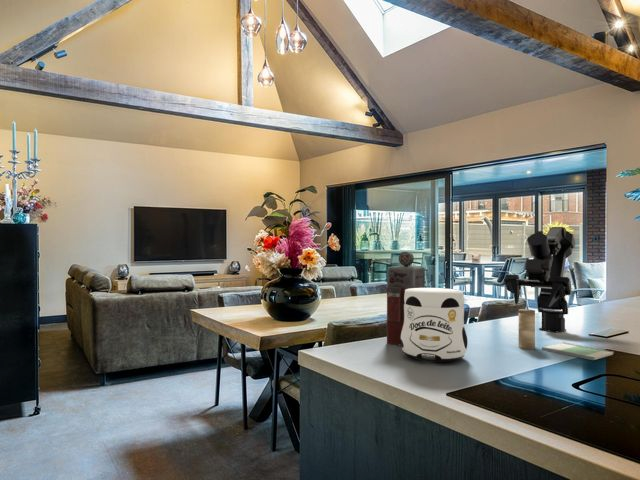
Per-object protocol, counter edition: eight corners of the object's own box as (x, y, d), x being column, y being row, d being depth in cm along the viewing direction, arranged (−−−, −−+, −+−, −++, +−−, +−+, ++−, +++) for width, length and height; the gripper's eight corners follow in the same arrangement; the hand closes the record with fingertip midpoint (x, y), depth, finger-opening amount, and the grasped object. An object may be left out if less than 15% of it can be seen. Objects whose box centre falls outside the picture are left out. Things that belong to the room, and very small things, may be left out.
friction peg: (515, 347, 135) (515, 309, 135) (524, 345, 137) (524, 308, 137) (529, 350, 131) (529, 311, 131) (538, 348, 134) (538, 310, 134)
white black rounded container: (419, 368, 112) (419, 295, 112) (390, 352, 128) (390, 288, 128) (481, 364, 116) (481, 293, 116) (445, 348, 133) (445, 286, 133)
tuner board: (542, 349, 132) (542, 347, 132) (563, 344, 138) (563, 342, 138) (593, 360, 120) (593, 357, 120) (613, 354, 126) (613, 351, 126)
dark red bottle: (383, 344, 137) (383, 251, 138) (398, 338, 147) (398, 251, 147) (410, 348, 132) (411, 252, 133) (425, 341, 142) (425, 251, 142)
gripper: (505, 249, 149) (494, 285, 140) (569, 250, 137) (562, 289, 128) (512, 272, 155) (502, 308, 146) (574, 275, 143) (567, 314, 135)
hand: (531, 305), depth 139 cm, fingers open, 9 cm apart
